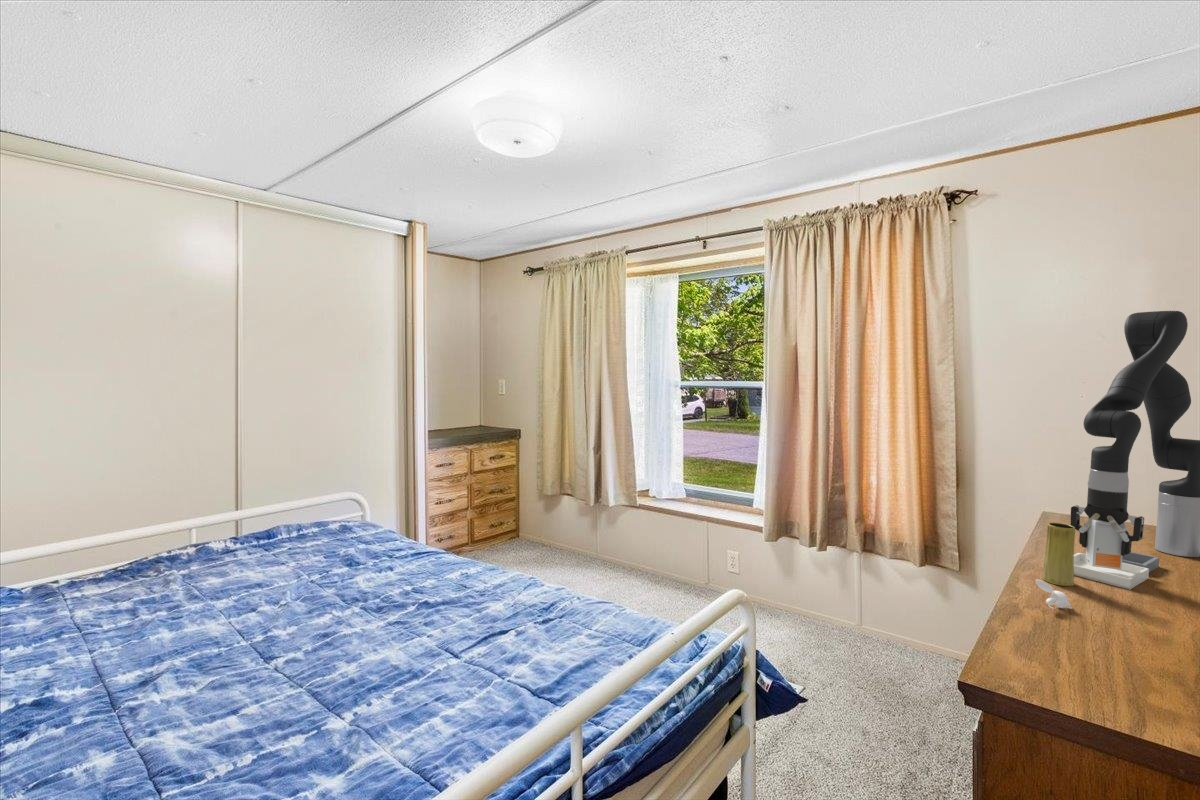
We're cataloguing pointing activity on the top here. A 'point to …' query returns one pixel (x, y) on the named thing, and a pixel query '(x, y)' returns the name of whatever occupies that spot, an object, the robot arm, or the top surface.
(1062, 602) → the rabbit figurine
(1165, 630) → the top surface
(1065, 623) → the top surface
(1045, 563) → the vase
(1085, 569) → the tray
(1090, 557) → the skincare box
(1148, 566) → the frame
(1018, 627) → the top surface
